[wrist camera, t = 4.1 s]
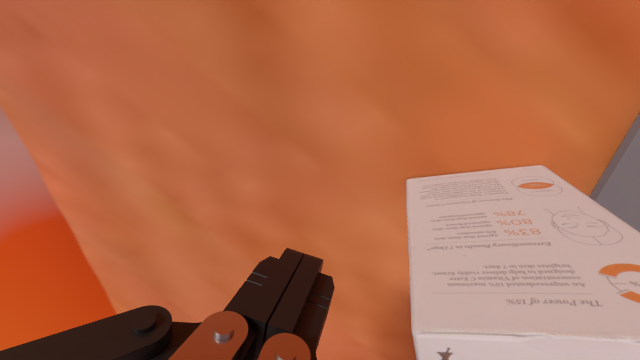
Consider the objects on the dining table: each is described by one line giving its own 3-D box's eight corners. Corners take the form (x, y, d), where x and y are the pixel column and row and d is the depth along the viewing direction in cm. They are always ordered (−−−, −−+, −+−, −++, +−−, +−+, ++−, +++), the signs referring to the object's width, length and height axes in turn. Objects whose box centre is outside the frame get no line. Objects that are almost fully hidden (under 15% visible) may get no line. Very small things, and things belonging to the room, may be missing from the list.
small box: (414, 258, 22) (427, 476, 10) (404, 177, 20) (406, 329, 8) (543, 254, 20) (757, 538, 8) (546, 162, 18) (831, 349, 6)
